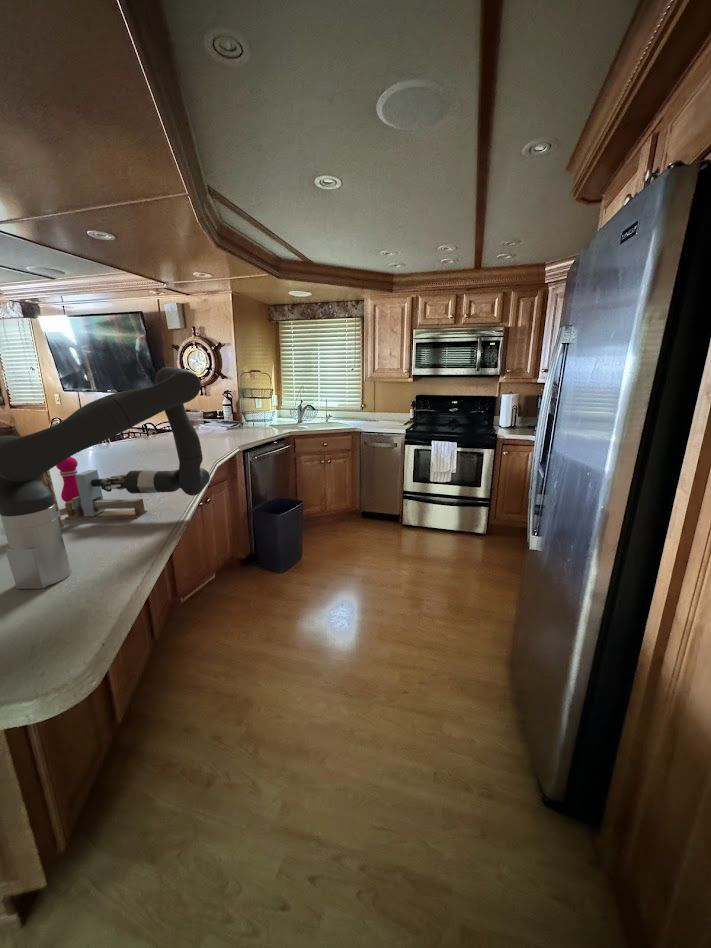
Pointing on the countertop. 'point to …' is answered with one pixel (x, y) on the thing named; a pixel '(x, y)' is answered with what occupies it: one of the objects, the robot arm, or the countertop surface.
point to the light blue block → (88, 492)
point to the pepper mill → (69, 479)
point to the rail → (110, 513)
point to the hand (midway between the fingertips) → (93, 482)
